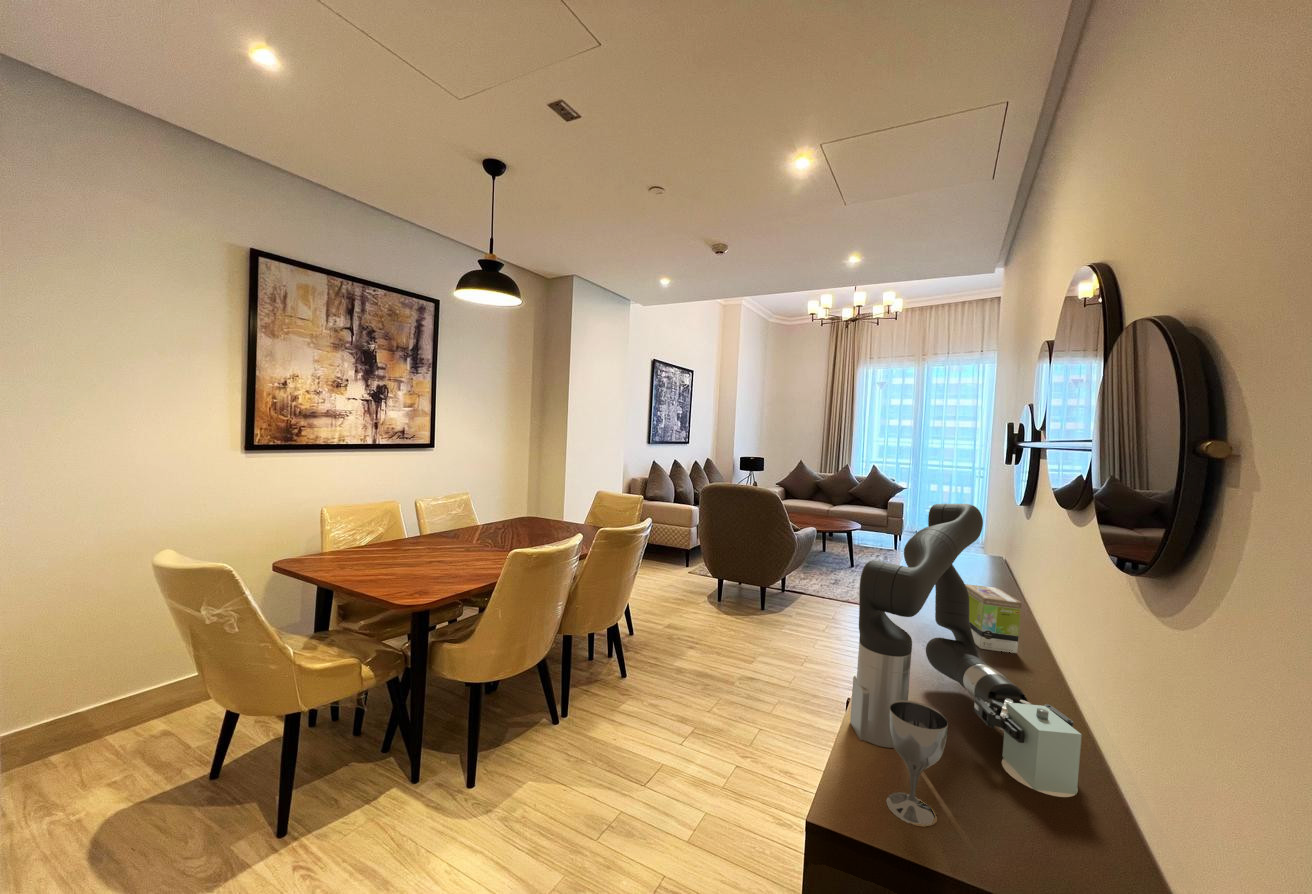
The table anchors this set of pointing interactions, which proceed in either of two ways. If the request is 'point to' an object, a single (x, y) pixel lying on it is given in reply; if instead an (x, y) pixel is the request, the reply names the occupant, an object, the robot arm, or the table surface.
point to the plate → (1017, 776)
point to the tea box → (994, 618)
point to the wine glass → (915, 753)
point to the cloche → (1043, 749)
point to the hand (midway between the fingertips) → (1049, 740)
